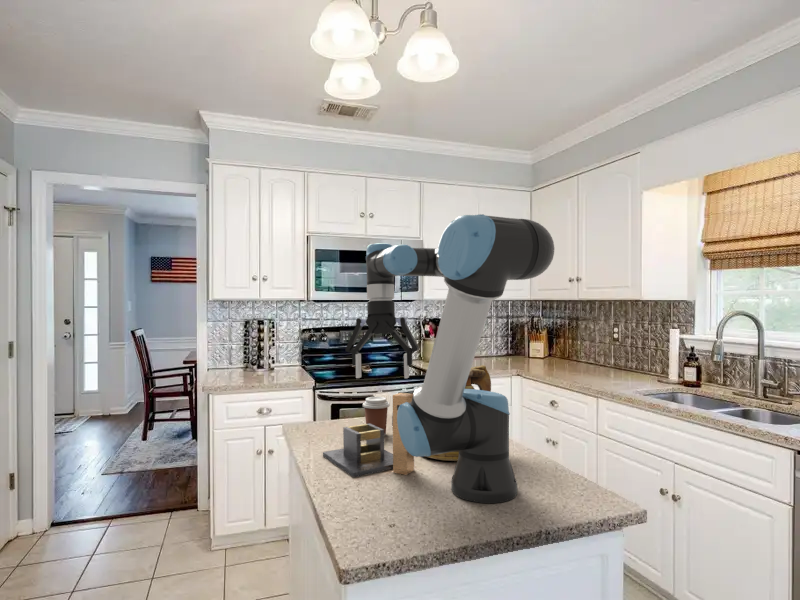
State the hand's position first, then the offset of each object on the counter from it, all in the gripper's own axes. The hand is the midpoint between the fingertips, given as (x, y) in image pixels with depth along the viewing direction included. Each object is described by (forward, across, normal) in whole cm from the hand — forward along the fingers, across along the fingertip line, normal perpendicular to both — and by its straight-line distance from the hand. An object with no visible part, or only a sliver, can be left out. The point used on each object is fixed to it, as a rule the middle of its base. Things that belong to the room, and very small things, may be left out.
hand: (382, 377), depth 132 cm
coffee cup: (+23, +10, -29) cm, 38 cm away
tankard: (+24, -18, -15) cm, 33 cm away
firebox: (+23, +6, -2) cm, 24 cm away
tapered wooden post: (+24, -6, +4) cm, 25 cm away
